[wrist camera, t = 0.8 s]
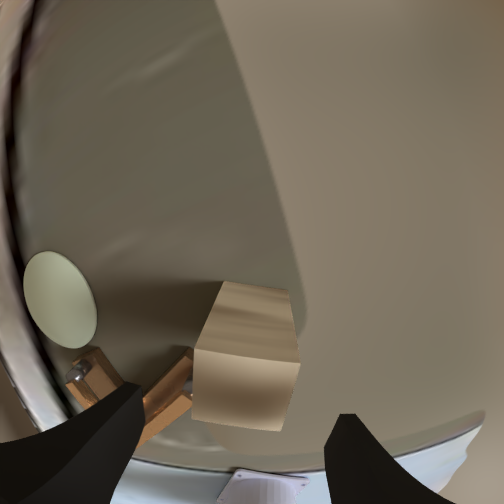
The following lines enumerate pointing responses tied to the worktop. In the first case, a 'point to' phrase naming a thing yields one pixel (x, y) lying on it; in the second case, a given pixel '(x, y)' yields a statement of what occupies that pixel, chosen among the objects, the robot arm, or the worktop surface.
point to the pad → (60, 299)
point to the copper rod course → (154, 399)
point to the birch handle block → (246, 359)
